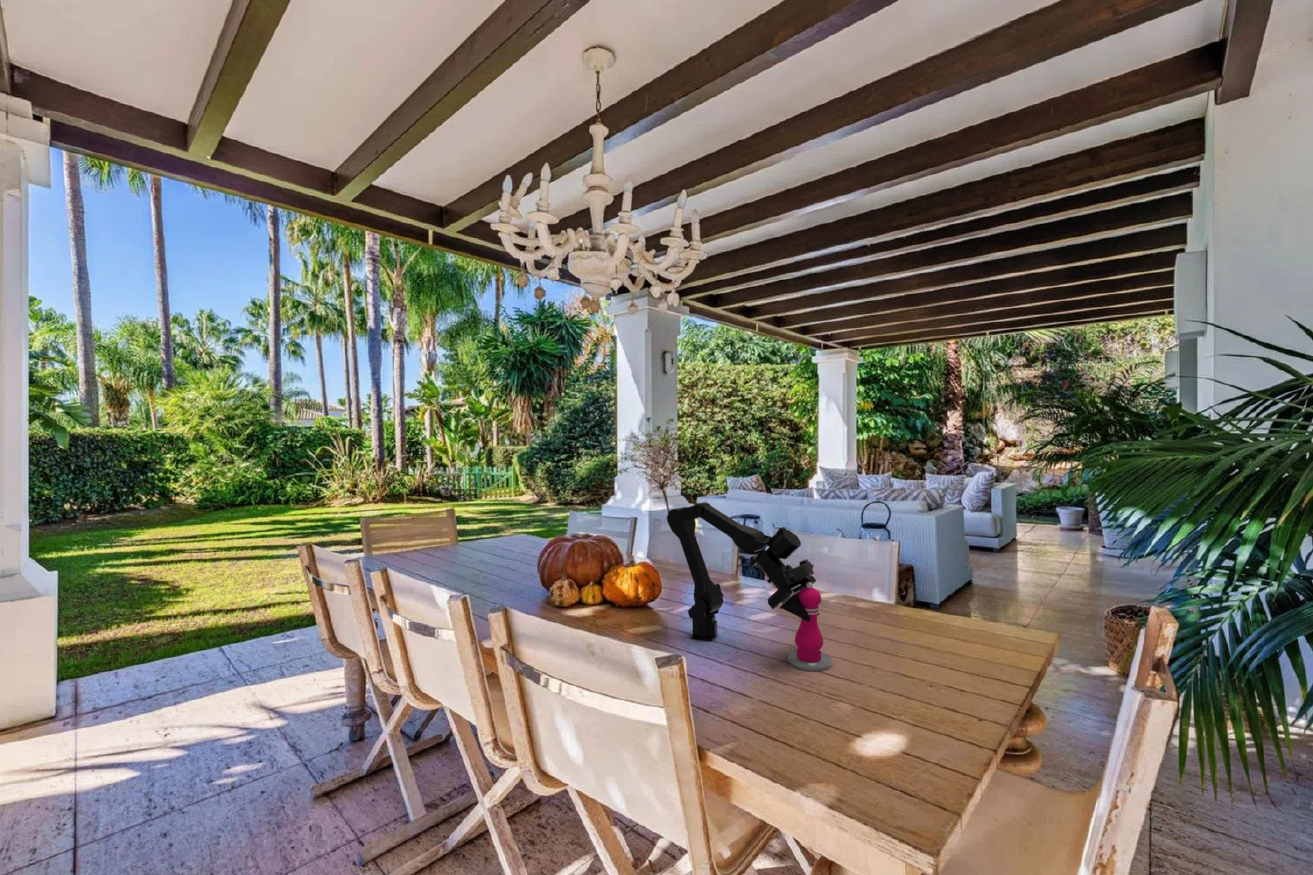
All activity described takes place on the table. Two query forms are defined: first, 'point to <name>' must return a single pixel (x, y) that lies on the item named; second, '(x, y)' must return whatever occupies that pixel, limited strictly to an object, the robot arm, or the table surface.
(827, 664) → the slate coaster
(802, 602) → the pepper mill
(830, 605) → the table surface
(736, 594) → the table surface
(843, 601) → the table surface
